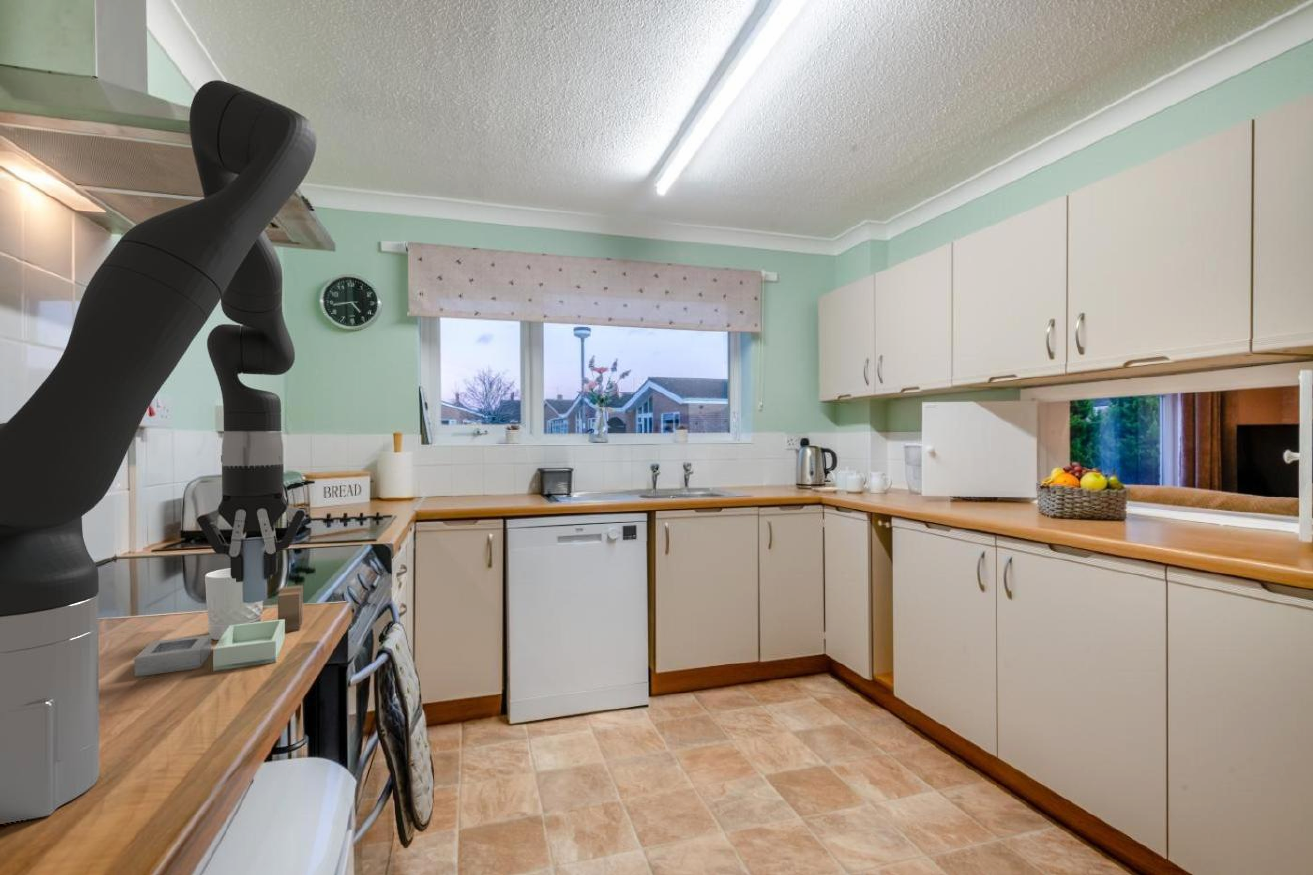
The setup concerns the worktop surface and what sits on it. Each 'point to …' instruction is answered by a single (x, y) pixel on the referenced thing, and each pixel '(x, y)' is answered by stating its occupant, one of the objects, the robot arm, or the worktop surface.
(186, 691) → the worktop surface
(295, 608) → the walnut block
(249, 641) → the pale green tray
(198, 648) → the gray tray
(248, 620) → the white cup
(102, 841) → the worktop surface
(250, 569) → the slate-blue dowel
